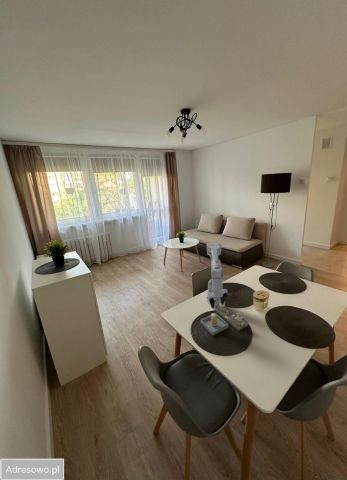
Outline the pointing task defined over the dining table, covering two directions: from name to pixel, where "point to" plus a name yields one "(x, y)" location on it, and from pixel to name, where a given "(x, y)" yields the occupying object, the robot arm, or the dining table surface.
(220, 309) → the fuse
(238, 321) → the fuse
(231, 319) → the fuse block
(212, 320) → the marked fuse
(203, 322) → the tray
